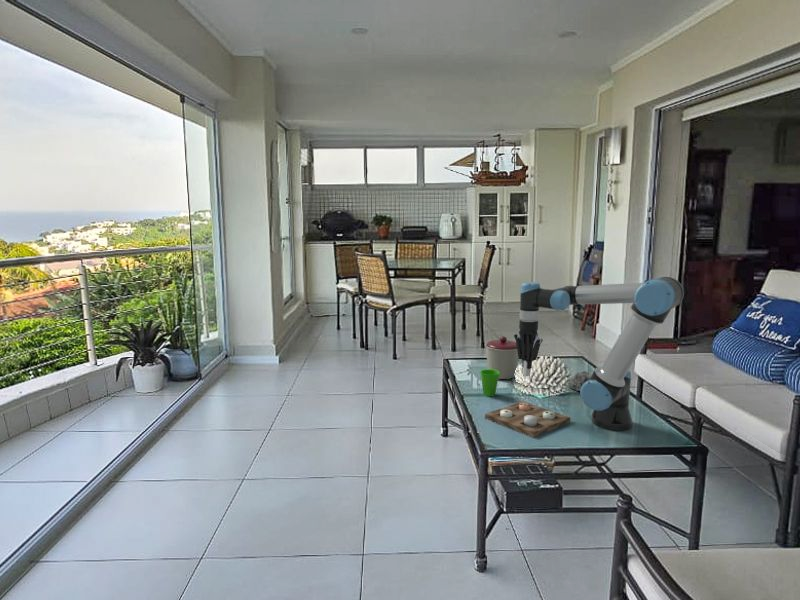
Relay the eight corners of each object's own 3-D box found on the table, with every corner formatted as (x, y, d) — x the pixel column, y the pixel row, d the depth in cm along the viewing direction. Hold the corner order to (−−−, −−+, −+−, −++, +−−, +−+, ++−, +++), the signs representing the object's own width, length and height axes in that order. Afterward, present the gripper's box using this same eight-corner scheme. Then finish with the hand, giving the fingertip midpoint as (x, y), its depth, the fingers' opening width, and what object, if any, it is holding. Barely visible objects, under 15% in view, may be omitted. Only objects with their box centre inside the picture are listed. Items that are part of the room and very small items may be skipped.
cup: (500, 398, 245) (501, 375, 243) (480, 398, 245) (481, 374, 244) (497, 391, 254) (498, 369, 252) (478, 391, 254) (478, 368, 253)
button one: (514, 419, 221) (514, 411, 220) (506, 421, 218) (507, 414, 217) (505, 415, 224) (505, 408, 224) (497, 418, 221) (497, 410, 221)
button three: (532, 412, 228) (533, 404, 228) (525, 414, 225) (525, 407, 225) (523, 408, 232) (523, 401, 231) (516, 411, 229) (516, 404, 228)
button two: (557, 420, 219) (557, 413, 218) (550, 423, 216) (550, 416, 215) (547, 417, 223) (547, 409, 222) (540, 420, 220) (540, 412, 219)
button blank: (539, 425, 211) (539, 417, 211) (531, 428, 208) (531, 420, 208) (529, 421, 215) (529, 414, 214) (521, 424, 212) (521, 417, 211)
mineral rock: (565, 386, 262) (566, 366, 260) (585, 385, 264) (587, 365, 262) (577, 396, 250) (579, 374, 248) (599, 394, 251) (601, 373, 250)
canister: (479, 372, 284) (480, 333, 280) (511, 370, 287) (513, 331, 284) (490, 383, 266) (492, 341, 263) (525, 381, 270) (527, 340, 266)
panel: (570, 422, 218) (570, 417, 218) (533, 437, 203) (533, 432, 203) (522, 405, 237) (522, 401, 236) (484, 418, 222) (485, 413, 221)
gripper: (547, 321, 219) (545, 377, 223) (521, 316, 229) (519, 370, 233) (536, 323, 214) (533, 381, 218) (510, 318, 224) (508, 373, 228)
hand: (526, 375), depth 226 cm, fingers closed
